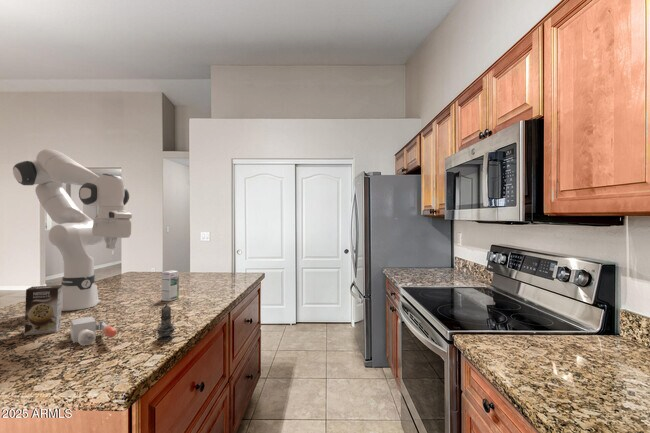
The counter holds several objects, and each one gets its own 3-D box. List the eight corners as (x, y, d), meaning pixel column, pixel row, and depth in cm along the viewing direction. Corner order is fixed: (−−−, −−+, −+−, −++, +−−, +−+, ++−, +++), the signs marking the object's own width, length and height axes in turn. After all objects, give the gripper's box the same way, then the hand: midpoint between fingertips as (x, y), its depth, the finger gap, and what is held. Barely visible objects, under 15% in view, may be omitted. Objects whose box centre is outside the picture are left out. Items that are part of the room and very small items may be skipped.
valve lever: (97, 321, 115) (107, 330, 102) (105, 320, 116) (117, 328, 103) (97, 330, 114) (107, 339, 101) (105, 328, 116) (117, 337, 103)
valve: (68, 333, 115) (69, 316, 115) (93, 328, 120) (93, 312, 120) (75, 348, 102) (75, 329, 102) (103, 342, 107) (103, 324, 107)
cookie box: (23, 336, 112) (24, 289, 112) (30, 330, 117) (31, 286, 118) (56, 332, 116) (57, 287, 116) (61, 326, 122) (62, 284, 122)
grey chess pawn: (160, 335, 114) (161, 301, 114) (177, 335, 114) (178, 301, 114) (153, 341, 108) (153, 305, 108) (171, 341, 108) (171, 305, 109)
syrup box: (169, 301, 160) (170, 272, 161) (160, 300, 163) (161, 271, 163) (178, 298, 166) (179, 270, 166) (170, 297, 168) (170, 270, 168)
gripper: (87, 213, 131) (87, 247, 131) (118, 213, 122) (117, 250, 122) (104, 214, 137) (103, 246, 137) (134, 214, 128) (134, 249, 128)
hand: (110, 248), depth 129 cm, fingers closed
